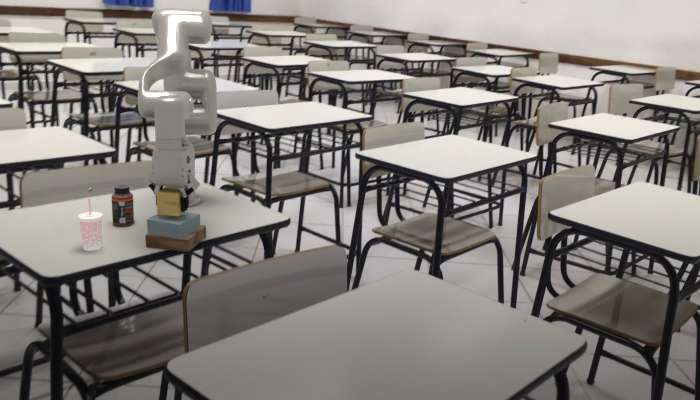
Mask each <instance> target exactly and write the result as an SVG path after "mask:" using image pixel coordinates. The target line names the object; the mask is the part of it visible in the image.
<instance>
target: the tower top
mask: <svg viewBox="0 0 700 400" xmlns="http://www.w3.org/2000/svg"><path fill="white" fill-rule="evenodd" d="M146 222H147V224H146V226H147V227H146V228H147V234H148V233H149V234H154V235H160V236H165V237H170V238H175V239H181V238H183V237H185V236H186V235H188V234H190V233H192V232H194V231H196V230H198V229H199V228H200V225H201V214H200V213H197V212H191V211H190V212H189V211H185V212H184V213H182V214H181V215H180V216H170V215H161V214H157V213H156V214H155V215H152V216H150V217H148V218H146Z"/></svg>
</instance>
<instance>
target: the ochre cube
mask: <svg viewBox="0 0 700 400" xmlns="http://www.w3.org/2000/svg"><path fill="white" fill-rule="evenodd" d="M156 196H157V205H156V215H157V214H161V215H170V216H180V215H181V214H182V213H184V212H188V209H189V208H188V209H187V210H186V211H184V212H181V197H182V194H181V191H180V189H179V188H177V187H167V186H166V187H165V186H164V187H163V189H161V190H160V191H158V192H156V195H155V197H156Z"/></svg>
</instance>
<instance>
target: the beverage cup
mask: <svg viewBox="0 0 700 400" xmlns="http://www.w3.org/2000/svg"><path fill="white" fill-rule="evenodd" d="M87 198H88V199H87V200H88V201H87V202H88V211H86V212H82V213H79V214H78V215H77V219H78V221H79V228H80V236H81V242H82V249H83V250H84V251H86V252H92V251H93V252H94V251H98V250H101V248H103V247H102V246H103V245H102V244H103V243H102V239H103V235H102V234H103V233H102V229H103V228H102V227H103V224H102V223H103V222H102V221H103V218H104V217H103V213H102V212H99V211H92V207H91V196H88V197H87Z"/></svg>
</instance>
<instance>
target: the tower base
mask: <svg viewBox="0 0 700 400" xmlns="http://www.w3.org/2000/svg"><path fill="white" fill-rule="evenodd" d="M206 237H207V225H203V224H200V228H199V229H198V230H196V231H194V232H192V233H190V234H188V235H186V236H185V237H183V238H181V239H175V238H170V237H165V236H160V235H154V234H149V233H148V232H147V233H146V234H145V247H146V248H147V249H148V248H149V249H158V250H168V251H174V252H175V251H176V252H181V253H182V252H183V253H190V251H192V249H194V248H195V247H197V245H199V244H200V243H201V242H202V241H203V240H204V239H205V238H206Z"/></svg>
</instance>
